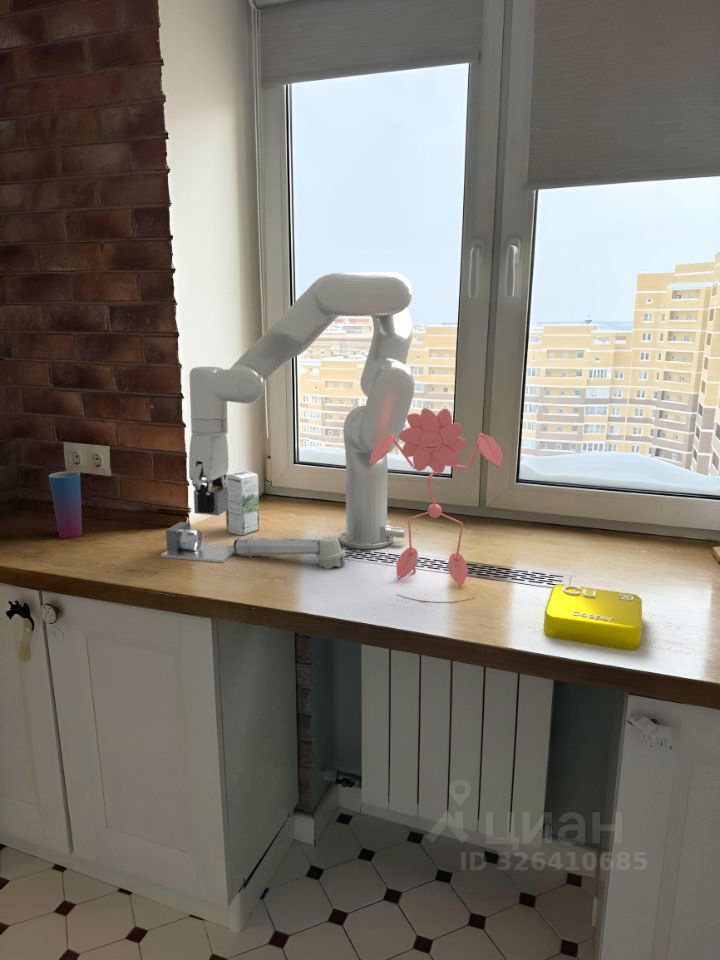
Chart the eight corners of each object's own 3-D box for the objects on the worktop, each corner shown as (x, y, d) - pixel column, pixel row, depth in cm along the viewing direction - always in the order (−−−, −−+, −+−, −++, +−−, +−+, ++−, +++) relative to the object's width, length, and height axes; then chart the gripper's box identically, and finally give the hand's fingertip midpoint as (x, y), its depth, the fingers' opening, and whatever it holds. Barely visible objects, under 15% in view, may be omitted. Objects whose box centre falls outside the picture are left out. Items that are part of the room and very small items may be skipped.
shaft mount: (240, 549, 153) (239, 524, 151) (223, 562, 144) (222, 536, 143) (181, 544, 156) (179, 520, 155) (161, 557, 148) (159, 531, 146)
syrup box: (243, 526, 170) (240, 469, 166) (260, 530, 166) (258, 473, 163) (226, 532, 165) (223, 474, 162) (243, 536, 162) (241, 477, 158)
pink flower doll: (376, 565, 143) (377, 400, 134) (499, 581, 134) (509, 406, 125) (351, 593, 129) (350, 411, 120) (487, 613, 121) (496, 419, 112)
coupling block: (228, 509, 149) (227, 486, 148) (217, 515, 144) (217, 491, 143) (205, 507, 150) (204, 484, 149) (194, 513, 145) (193, 489, 144)
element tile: (541, 638, 111) (543, 611, 110) (551, 604, 125) (553, 579, 124) (639, 655, 106) (642, 627, 105) (639, 617, 119) (642, 591, 118)
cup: (91, 533, 164) (86, 473, 160) (66, 541, 158) (60, 479, 154) (74, 529, 167) (68, 470, 164) (49, 536, 162) (42, 475, 158)
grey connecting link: (241, 534, 152) (345, 530, 143) (246, 562, 153) (349, 560, 145) (230, 541, 147) (337, 537, 138) (235, 570, 148) (341, 568, 140)
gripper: (211, 419, 152) (213, 498, 156) (172, 431, 135) (176, 518, 140) (242, 421, 150) (243, 500, 154) (207, 433, 134) (209, 521, 138)
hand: (211, 508), depth 147 cm, fingers closed on coupling block, 5 cm apart
